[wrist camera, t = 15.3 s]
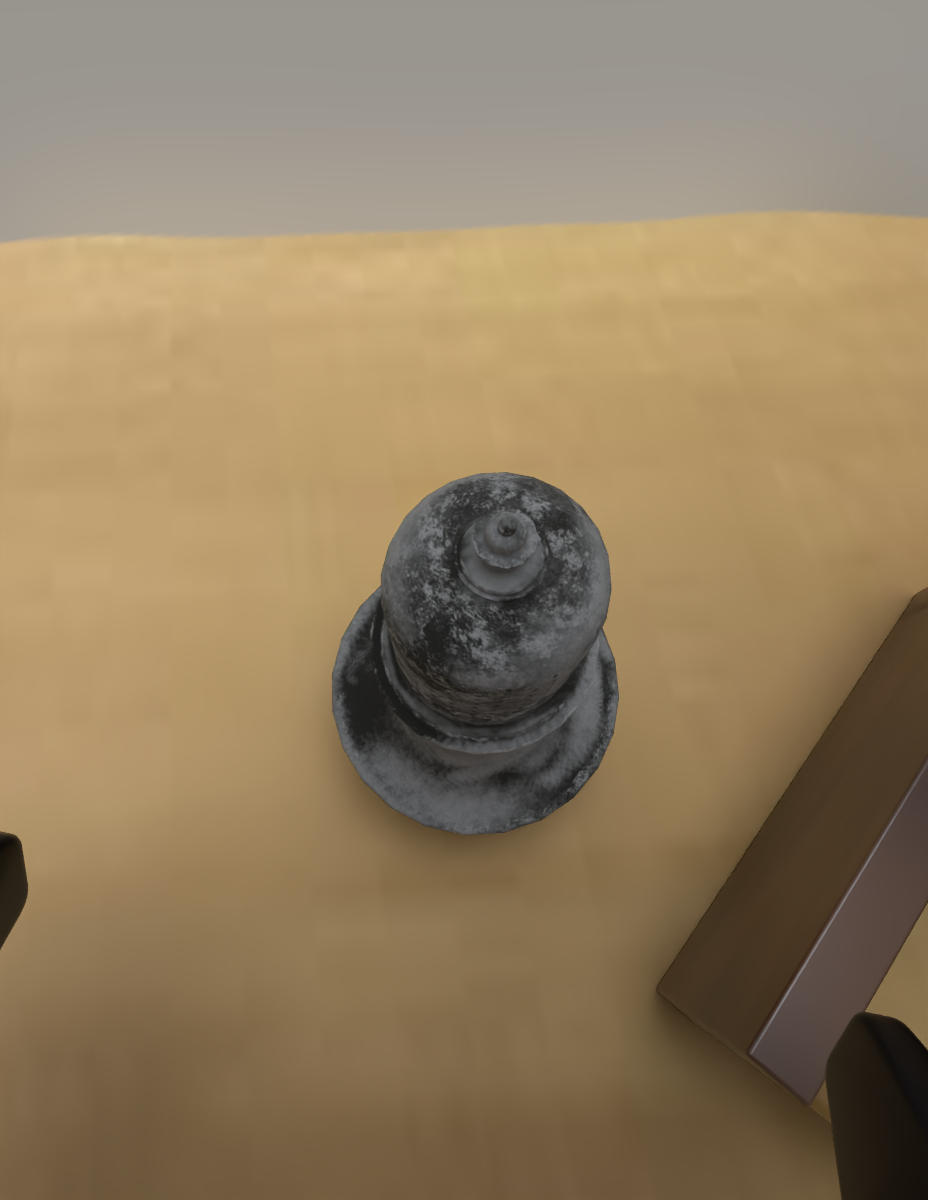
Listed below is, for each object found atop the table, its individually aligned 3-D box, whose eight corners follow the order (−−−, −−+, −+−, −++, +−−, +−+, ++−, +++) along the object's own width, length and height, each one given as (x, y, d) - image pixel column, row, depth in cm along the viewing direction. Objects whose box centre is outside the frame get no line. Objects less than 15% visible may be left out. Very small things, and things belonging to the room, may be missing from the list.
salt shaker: (636, 725, 19) (926, 555, 8) (456, 890, 18) (478, 984, 6) (481, 555, 20) (529, 189, 9) (303, 698, 19) (89, 488, 8)
